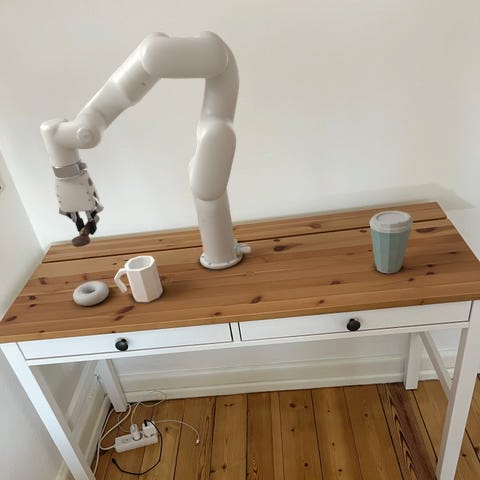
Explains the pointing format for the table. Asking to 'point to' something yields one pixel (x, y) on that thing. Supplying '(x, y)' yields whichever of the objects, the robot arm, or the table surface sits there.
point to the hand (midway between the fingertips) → (88, 232)
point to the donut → (90, 293)
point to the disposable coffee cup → (390, 239)
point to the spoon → (84, 235)
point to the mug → (141, 278)
